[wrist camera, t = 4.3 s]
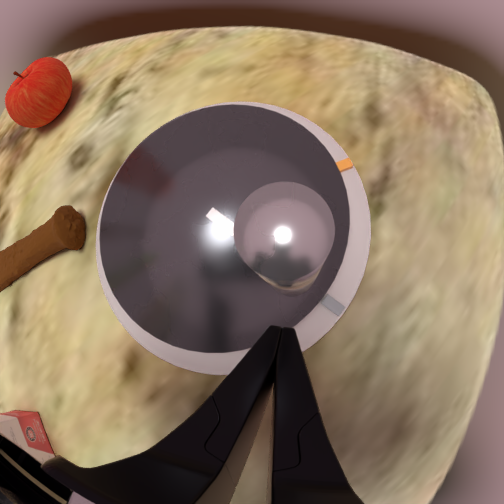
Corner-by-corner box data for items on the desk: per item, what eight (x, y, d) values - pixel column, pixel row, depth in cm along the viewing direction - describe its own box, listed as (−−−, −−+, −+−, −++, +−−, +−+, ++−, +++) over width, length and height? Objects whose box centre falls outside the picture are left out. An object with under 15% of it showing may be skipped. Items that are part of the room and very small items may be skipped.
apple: (37, 151, 24) (-12, 118, 16) (31, 116, 26) (-8, 85, 18) (90, 99, 24) (46, 54, 16) (76, 72, 26) (41, 34, 18)
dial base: (413, 298, 16) (421, 297, 14) (149, 402, 17) (140, 407, 16) (290, 80, 20) (289, 69, 19) (88, 177, 21) (79, 171, 20)
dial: (390, 284, 15) (484, 252, 6) (149, 380, 16) (37, 420, 7) (279, 87, 18) (262, -22, 9) (95, 176, 19) (11, 116, 10)
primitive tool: (-16, 308, 22) (-39, 305, 18) (-19, 263, 23) (-40, 257, 20) (93, 251, 20) (63, 240, 17) (87, 191, 22) (61, 174, 18)
